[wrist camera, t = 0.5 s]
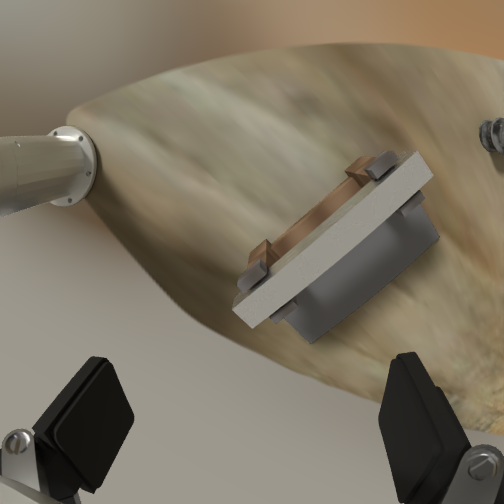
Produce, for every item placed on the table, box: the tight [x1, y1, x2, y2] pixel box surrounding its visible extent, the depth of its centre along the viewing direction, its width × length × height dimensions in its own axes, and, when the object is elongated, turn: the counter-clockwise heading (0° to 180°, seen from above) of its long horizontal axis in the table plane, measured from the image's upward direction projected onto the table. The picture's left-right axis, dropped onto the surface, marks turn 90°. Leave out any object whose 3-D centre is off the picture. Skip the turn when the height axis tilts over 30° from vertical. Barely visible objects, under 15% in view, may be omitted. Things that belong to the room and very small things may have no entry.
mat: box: [284, 204, 440, 344], centre depth 41 cm, size 26×10×1 cm, turn 132°
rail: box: [232, 151, 433, 329], centre depth 29 cm, size 24×3×3 cm, turn 132°
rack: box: [237, 151, 425, 324], centre depth 34 cm, size 20×6×12 cm, turn 132°
